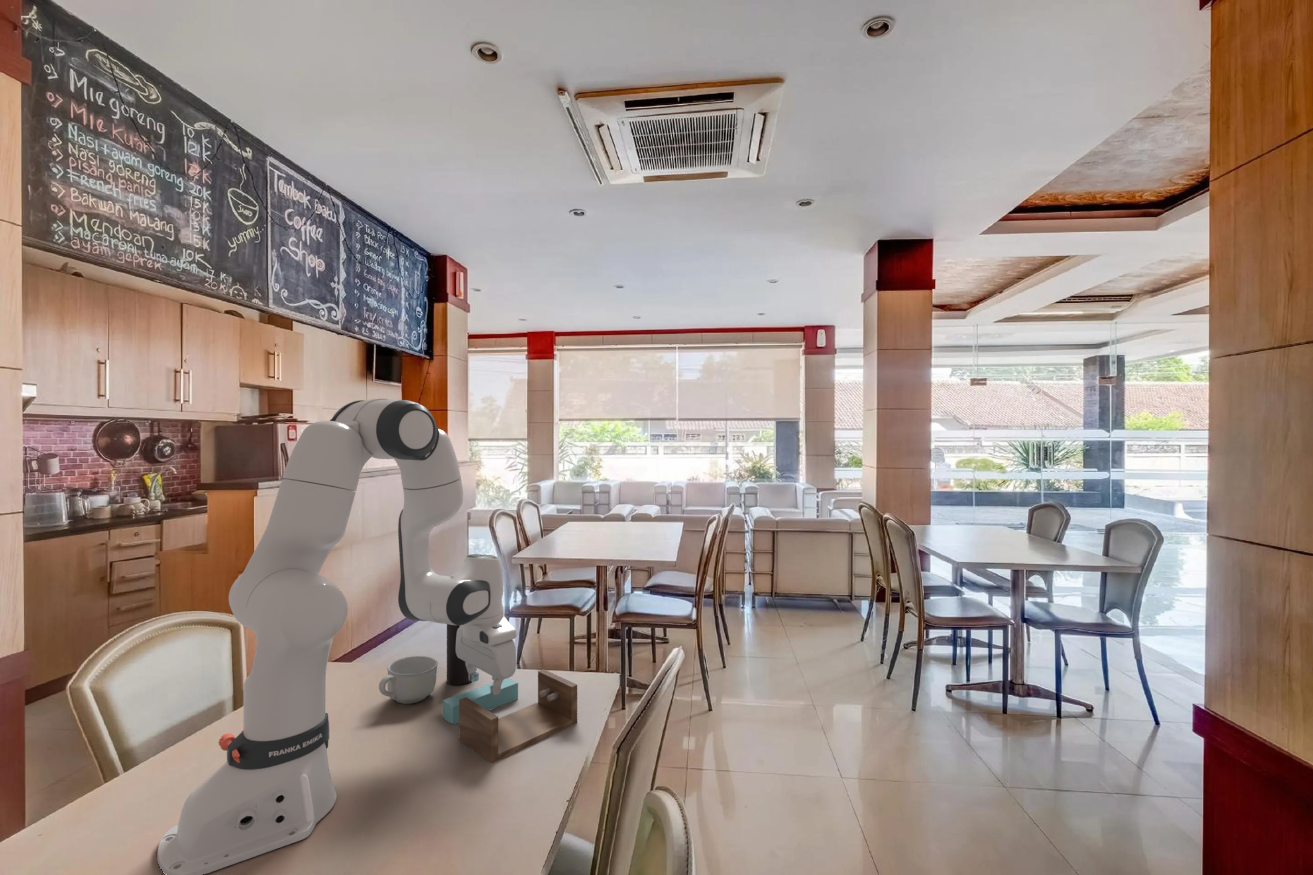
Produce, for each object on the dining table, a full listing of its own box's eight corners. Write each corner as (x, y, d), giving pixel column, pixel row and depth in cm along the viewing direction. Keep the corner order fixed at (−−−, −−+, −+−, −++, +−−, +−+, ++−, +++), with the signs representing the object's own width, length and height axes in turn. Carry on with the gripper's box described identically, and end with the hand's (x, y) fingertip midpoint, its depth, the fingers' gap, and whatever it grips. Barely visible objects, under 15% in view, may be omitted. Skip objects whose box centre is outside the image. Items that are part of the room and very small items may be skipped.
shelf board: (452, 725, 118) (452, 706, 118) (442, 718, 121) (442, 700, 121) (518, 699, 130) (518, 682, 130) (507, 694, 133) (507, 677, 133)
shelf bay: (491, 762, 104) (491, 719, 104) (459, 739, 112) (459, 699, 112) (577, 722, 119) (577, 684, 119) (543, 704, 127) (543, 669, 127)
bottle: (479, 674, 143) (479, 596, 143) (468, 686, 136) (468, 604, 137) (454, 673, 144) (454, 595, 144) (441, 685, 137) (441, 603, 137)
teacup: (421, 683, 138) (421, 651, 138) (447, 695, 132) (447, 661, 132) (364, 705, 127) (364, 670, 127) (389, 719, 120) (389, 681, 120)
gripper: (448, 618, 131) (449, 678, 131) (494, 640, 117) (495, 706, 117) (473, 612, 135) (473, 669, 136) (520, 632, 121) (521, 695, 122)
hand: (484, 686), depth 126 cm, fingers open, 8 cm apart
